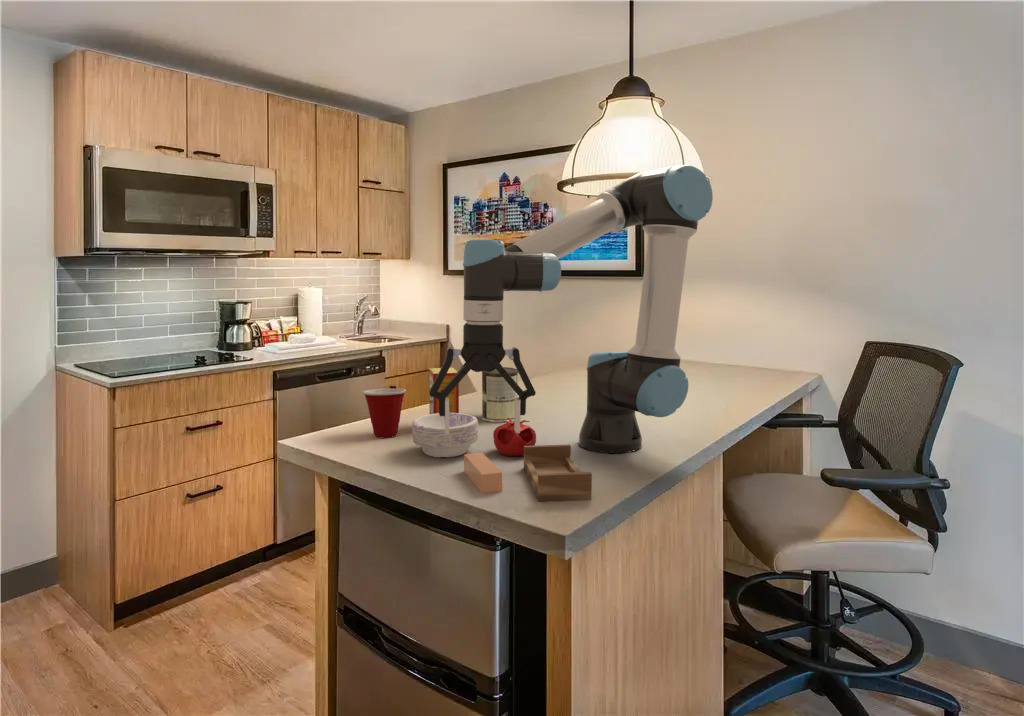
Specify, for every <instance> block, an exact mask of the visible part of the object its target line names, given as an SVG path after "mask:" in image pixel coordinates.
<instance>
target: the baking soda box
mask: <svg viewBox="0 0 1024 716" xmlns="http://www.w3.org/2000/svg"><path fill="white" fill-rule="evenodd" d="M440 369H441V367H428V387H429V388H428V389H429V390H428V391H429V392H428V393H430V389H431V387H432V385H433V383H434V381H435V379H436V377H437V375H438V373H439V371H440ZM457 372H458V371H457V370H456V369H455V368H454V367H451V366H450V368H449V370H448V372H447V374H446V376H445V378H444V380H443V382H442V384H441V386H440V387H439V389H438V391H442V389H443V388H444V387H445V386H446V385H447V384H448V383H449V381H450V380H451V379H452V378H453V377H454V376H455V374H456V373H457ZM459 383H460V382H459ZM459 383H458V384H457V385H456V387H455V388H454V389H453V390H452V391H451V392H450V394H449V395H448V396H447V397H446V398H449V413H460V409H459V408H460V402H459V401H460V398H459V397H460V396H459V391H460V390H459ZM428 396H429V403H428V404H429V405H428V406H429V415H430V414H437V413H439V400H438V399H437V398H435V397H431V396H430V394H429V395H428Z"/></svg>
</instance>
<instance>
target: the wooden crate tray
mask: <svg viewBox="0 0 1024 716" xmlns="http://www.w3.org/2000/svg"><path fill="white" fill-rule="evenodd" d="M571 450H572V445H571V444H544V445H543V444H542V445H541V444H540V445H539V444H537V445H536V444H535V446H524V455H523V469H524V472H525V474H526V476H527V479H528V481H529V483H530V485H531V488H532V490H533V492H534V494H535V497H536V499H537V501H538V502H539V503H540V502H542V503H544V502H568V501H587V500H588V501H589V500H590V501H591V500H592V490H593V489H592V487H593V485H592V484H593V483H592V482H593V481H592V480H593V474H592V472H591V471H584V472H583V471H581V470H580V468H578V466H577V464H576V463H575V461H574V460H573V459H572V456H571V453H572V451H571Z"/></svg>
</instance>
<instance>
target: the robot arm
mask: <svg viewBox="0 0 1024 716" xmlns="http://www.w3.org/2000/svg"><path fill="white" fill-rule="evenodd" d="M712 188H713V187H712V185H711V182H710V180H709V178H707V175H706V173H704V171H702V169H700V168H699V167H697V166H695V165H692V164H682V165H681V164H680V165H678V164H673V165H671V166H669V167H668V166H667V167H664V168H656V169H654V170H652V169H651V170H646V171H642V172H638V173H636V174H634V175H632V176H630V177H628V178H626V179H624V180H622V181H620V182H619V183H617V184H616V185H614V186H612V187H610V188H608V189H606V190H604V191H603V192H601V193H599V194H598V195H597V196H596V199H595V201H593V202H591V203H589V204H587V205H586V206H584V207H581V208H580V209H578V210H576V211H574V212H572V213H570V214H568V215H566V216H565V217H563V218H560V219H558V220H557V221H555V222H553V223H551V224H549V225H546V226H545V227H543V228H541V229H539V230H537V231H535V232H533V233H531V234H530V235H528V236H526V237H524V238H522V239H520V240H518V241H516V242H514V243H512V244H511V245H509V246H507V247H505V243H504V241H503V240H499V239H498V240H496V239H470V240H468V241H466V243H465V244H464V250H463V263H462V266H463V313H462V315H463V316H462V317H463V318H462V319H463V320H464V321H465V323H464V325H462V326H463V329H462V331H463V332H462V333H463V335H462V339H463V341H462V342H463V343H462V344H463V345H462V348H461V349H458V348H454V347H451V346H449V347H447V349H446V354H445V355H446V356H445V360H444V361H443V364H442V365H441V367H440V368H441V369H440V371H439V373H438V375H437V377H436V379H435V381H434V383H433V385H432V387H431V389H430V393H429V392H428V393H429V394H430V396H431V397H435V398H437V399H438V400H439V415H440V416H445V434H449V398H446V397H447V396H448V395H449V394H450V392H451V391H452V390H453V389H454V388H455V387H456V385H457V384H458V383H460V382H461V381H462V380H463V379H464V378H465V376H466V375H468V373H469V372H470V371H471V370H472V371H473V372H475V373H480V372H481V373H482V371H486V372H491V371H493V370H495V369H496V370H497V371H498V372H499V373H500V374H501V376H502V377H503V378H504V379H505V380H506V381H507V383H508V384H509V385H510V386H511V387H512V389H513V390H514V391H515V392H516V393H517V394H518V397H515V417H514V421H513V422H514V430H515V432H516V433H520V422H521V419H520V418H521V416H525V415H526V413H527V410H526V409H527V399H528V398H530V397H534V396H535V395H536V393H537V392H536V390H535V388H534V386H533V384H532V381H531V380H530V377H529V375H528V374H527V372H526V369H525V366H524V365H523V363H522V361H521V355H520V350H519V349H518V348H517V347H516V346H513V347H512V348H508V349H507V348H506V349H504V326H503V324H502V323H501V322H503V320H504V294H505V292H510V291H511V292H512V291H513V292H540V293H542V292H548V291H549V292H550V291H553V290H554V289H556V288H557V287H558V285H559V283H560V281H561V277H562V265H561V261H560V259H561V258H564V257H565V256H567V255H569V254H571V253H572V252H574V251H576V250H578V249H580V248H582V247H583V246H585V245H587V244H589V243H591V242H593V241H595V240H597V239H598V238H600V237H602V236H603V235H606V234H608V233H609V232H612V233H618V232H620V231H622V230H625V229H627V228H630V227H633V226H639V225H641V226H642V230H643V231H644V232H645V233H646V235H647V242H646V243H647V244H646V250H645V251H646V252H645V253H646V254H645V262H644V269H643V270H644V271H643V276H642V277H643V278H642V284H641V285H642V286H641V287H642V288H641V292H640V293H641V294H640V295H641V296H640V301H639V302H640V304H639V310H638V311H639V312H638V320H637V328H636V337H635V344H634V345H633V346H632V347H631V348H630V349H628V350H615V351H612V350H611V351H599V352H593V353H591V354H590V355H589V356H588V359H587V365H586V366H587V367H586V373H587V374H586V375H587V378H586V379H587V382H586V386H587V387H586V414H585V417H584V420H583V423H582V426H581V428H580V431H579V435H578V444H579V446H580V447H581V448H584V449H586V450H588V451H589V450H590V451H592V452H593V451H594V452H598V453H599V452H600V453H606V454H607V453H609V454H610V453H611V454H622V453H621V452H624V453H629V452H628V451H631V452H634V451H633V450H635V451H637V450H636V449H638V448H640V447H641V448H642V446H641V445H642V444H643V443H642V441H643V440H642V439H643V437H642V434H641V430H640V427H639V424H638V421H637V417H636V412H637V413H640V414H642V415H645V416H648V417H655V418H666V417H669V416H671V415H673V414H675V413H676V412H677V410H678V409H679V408H681V407H682V405H683V404H684V402H685V400H686V398H687V395H688V391H689V379H688V376H686V375H687V374H686V372H685V371H684V370H683V369H682V368H680V366H681V355H679V353H678V352H677V351H676V348H675V347H676V341H677V333H678V325H679V317H680V308H681V303H682V301H681V300H682V295H683V293H682V292H683V287H684V285H683V284H684V279H685V278H684V276H685V268H686V260H687V253H688V244H689V240H690V239H691V237H693V236H695V234H696V233H697V232H698V231H697V230H698V225H699V221H700V220H702V219H703V218H706V215H707V214H708V213H709V212H710V210H711V208H712V205H713V199H714V198H713V197H714V196H713V189H712ZM459 356H461V358H462V359H463V360H464V364H463V365H461V367H460V368H459V370H458V371H457V373H456V374H455V376H454V377H453V378H452V379H451V380H450V381H449V383H448V384H447V385H446V386H445V387H444V388H443V389H442V391H438V389H439V387H440V386H441V384H442V382H443V380H444V378H445V376H446V374H447V372H448V370H449V368H450V367H451V366H452V363H453V361H455V360H457V359H458V357H459ZM505 356H507V357H508V359H509V360H510V361H512V362H513V363H514V367H515V369H517V370H518V374H519V376H520V379H521V381H522V383H523V385H524V387H525V390H523V389H522V388H521V387H520V386H519V385H518V384H517V383H516V382H515V381H514V380H513V378H512V377H511V376H510V375H509V374H508V373H507V371H506V370H505V369H504V368H503V367H504V366H503V365H502V364H501V362H502V361H503V359H504V358H505ZM641 448H640V449H641ZM638 450H639V449H638Z"/></svg>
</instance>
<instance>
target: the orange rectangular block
mask: <svg viewBox="0 0 1024 716" xmlns="http://www.w3.org/2000/svg"><path fill="white" fill-rule="evenodd" d="M463 473H464V474H465V475H467V477H468V478H469V479H470V480H471V481H472V483H473V484H474V486H475V487H476V488H477V489H478V490H479V491H480V492H481V494H488V493H489V494H490V493H497V492H503V472H502V471H501V470H500V469H499V468H498V467H497V466H496V465H495V463H493V462H492V461H491V459H489V458H488V457H487V455H485V454H484V453H483V452H478V453H477V452H476V453H466V454H465V453H464V454H463Z"/></svg>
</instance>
